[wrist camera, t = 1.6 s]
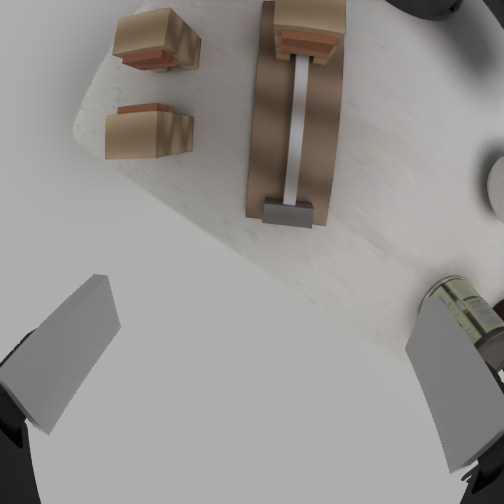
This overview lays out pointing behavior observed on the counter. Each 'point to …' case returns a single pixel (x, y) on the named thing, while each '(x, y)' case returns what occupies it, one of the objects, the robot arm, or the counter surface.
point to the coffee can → (473, 318)
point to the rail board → (293, 133)
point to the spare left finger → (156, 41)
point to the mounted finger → (309, 28)
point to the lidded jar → (497, 188)
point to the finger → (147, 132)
